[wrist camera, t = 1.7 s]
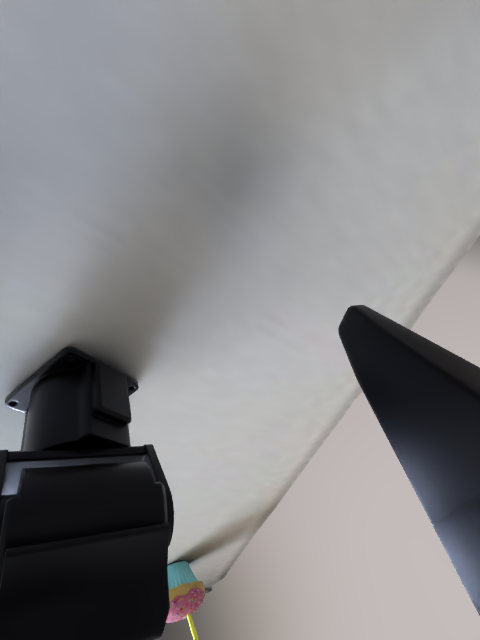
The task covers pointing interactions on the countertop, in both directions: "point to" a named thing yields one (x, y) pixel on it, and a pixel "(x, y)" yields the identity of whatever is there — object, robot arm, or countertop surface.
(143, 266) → the countertop surface
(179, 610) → the cupcake
